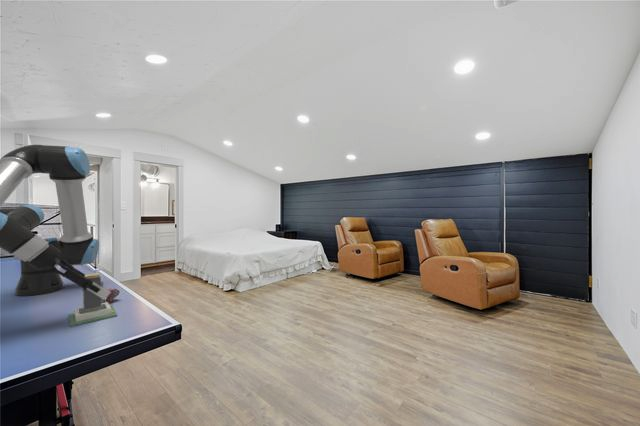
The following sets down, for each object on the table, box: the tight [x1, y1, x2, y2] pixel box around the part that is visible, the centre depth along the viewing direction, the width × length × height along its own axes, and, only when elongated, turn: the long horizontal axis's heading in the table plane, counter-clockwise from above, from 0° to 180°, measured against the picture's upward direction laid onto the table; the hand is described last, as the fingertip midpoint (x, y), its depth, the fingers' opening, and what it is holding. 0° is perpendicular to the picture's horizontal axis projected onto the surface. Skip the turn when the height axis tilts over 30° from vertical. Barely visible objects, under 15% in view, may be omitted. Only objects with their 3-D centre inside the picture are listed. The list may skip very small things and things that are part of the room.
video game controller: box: [101, 287, 121, 304], centre depth 108 cm, size 10×5×7 cm, turn 169°
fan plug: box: [82, 272, 104, 309], centre depth 95 cm, size 4×5×11 cm
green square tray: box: [68, 302, 118, 328], centre depth 96 cm, size 12×12×3 cm
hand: (105, 294), depth 98 cm, fingers closed on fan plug, 4 cm apart
